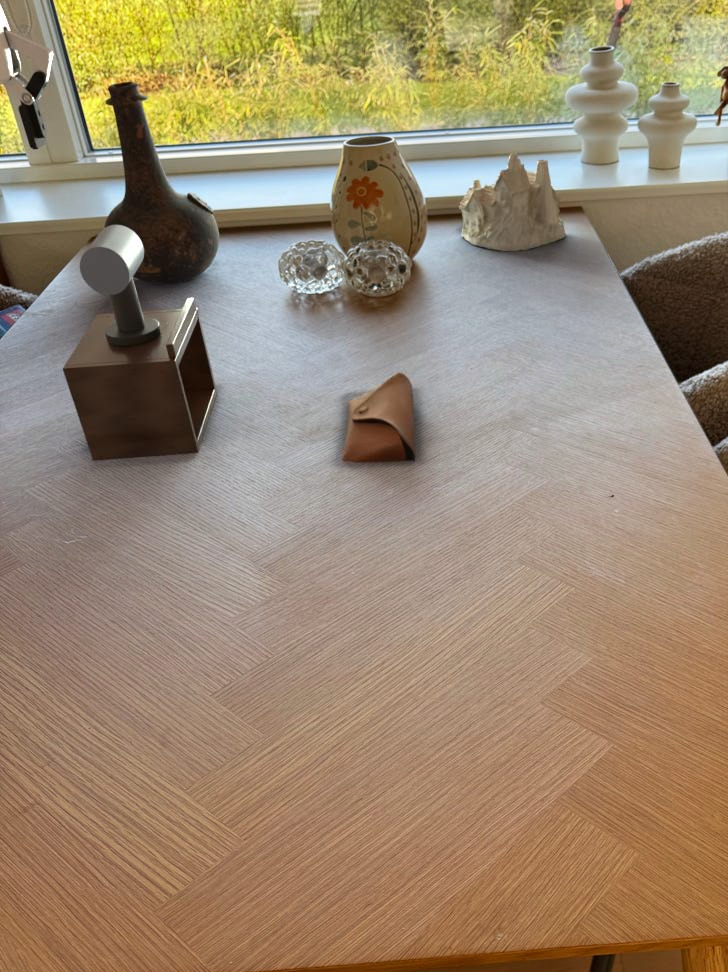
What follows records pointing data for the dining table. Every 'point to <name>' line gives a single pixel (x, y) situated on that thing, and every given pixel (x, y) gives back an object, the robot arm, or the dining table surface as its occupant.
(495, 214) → the ceramic cottage
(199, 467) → the dining table surface
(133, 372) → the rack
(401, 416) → the sunglasses case
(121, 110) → the glass bottle
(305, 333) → the dining table surface
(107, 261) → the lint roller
